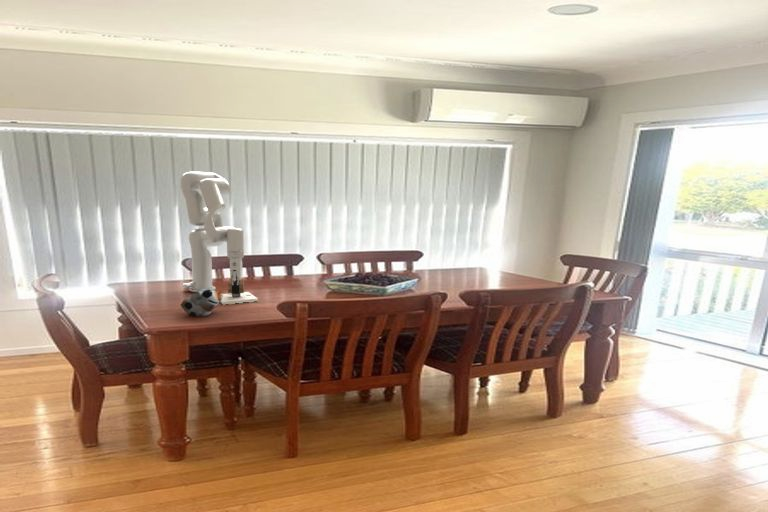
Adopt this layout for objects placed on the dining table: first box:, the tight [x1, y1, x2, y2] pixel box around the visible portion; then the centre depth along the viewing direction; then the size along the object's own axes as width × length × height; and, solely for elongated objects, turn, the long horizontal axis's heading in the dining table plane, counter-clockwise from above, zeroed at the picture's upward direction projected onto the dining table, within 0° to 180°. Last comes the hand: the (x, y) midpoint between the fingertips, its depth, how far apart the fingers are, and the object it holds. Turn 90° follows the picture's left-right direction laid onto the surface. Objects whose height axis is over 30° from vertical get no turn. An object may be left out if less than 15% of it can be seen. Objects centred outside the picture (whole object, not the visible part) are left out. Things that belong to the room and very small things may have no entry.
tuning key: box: [227, 282, 245, 297], centre depth 245 cm, size 10×7×6 cm
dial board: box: [219, 291, 258, 306], centre depth 242 cm, size 16×16×2 cm
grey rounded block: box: [180, 288, 223, 318], centre depth 215 cm, size 15×12×14 cm
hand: (236, 291), depth 242 cm, fingers open, 3 cm apart
